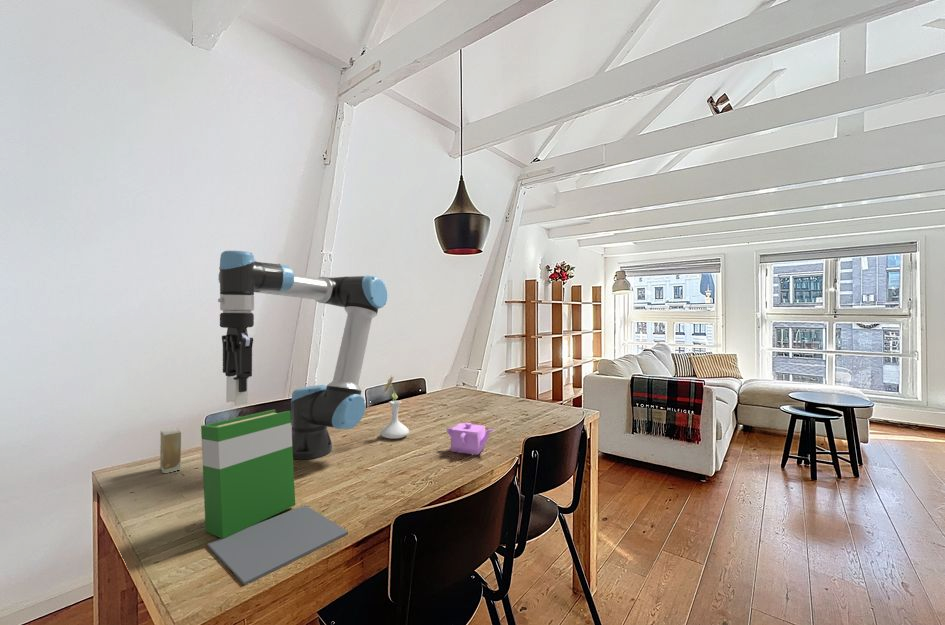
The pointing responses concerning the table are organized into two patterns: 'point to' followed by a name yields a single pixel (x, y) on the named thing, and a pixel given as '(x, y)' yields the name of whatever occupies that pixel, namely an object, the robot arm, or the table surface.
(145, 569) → the table surface
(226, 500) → the hardback book
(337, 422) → the robot arm
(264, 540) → the felt mat
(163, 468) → the skincare box
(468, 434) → the teapot
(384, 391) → the flower in vase
